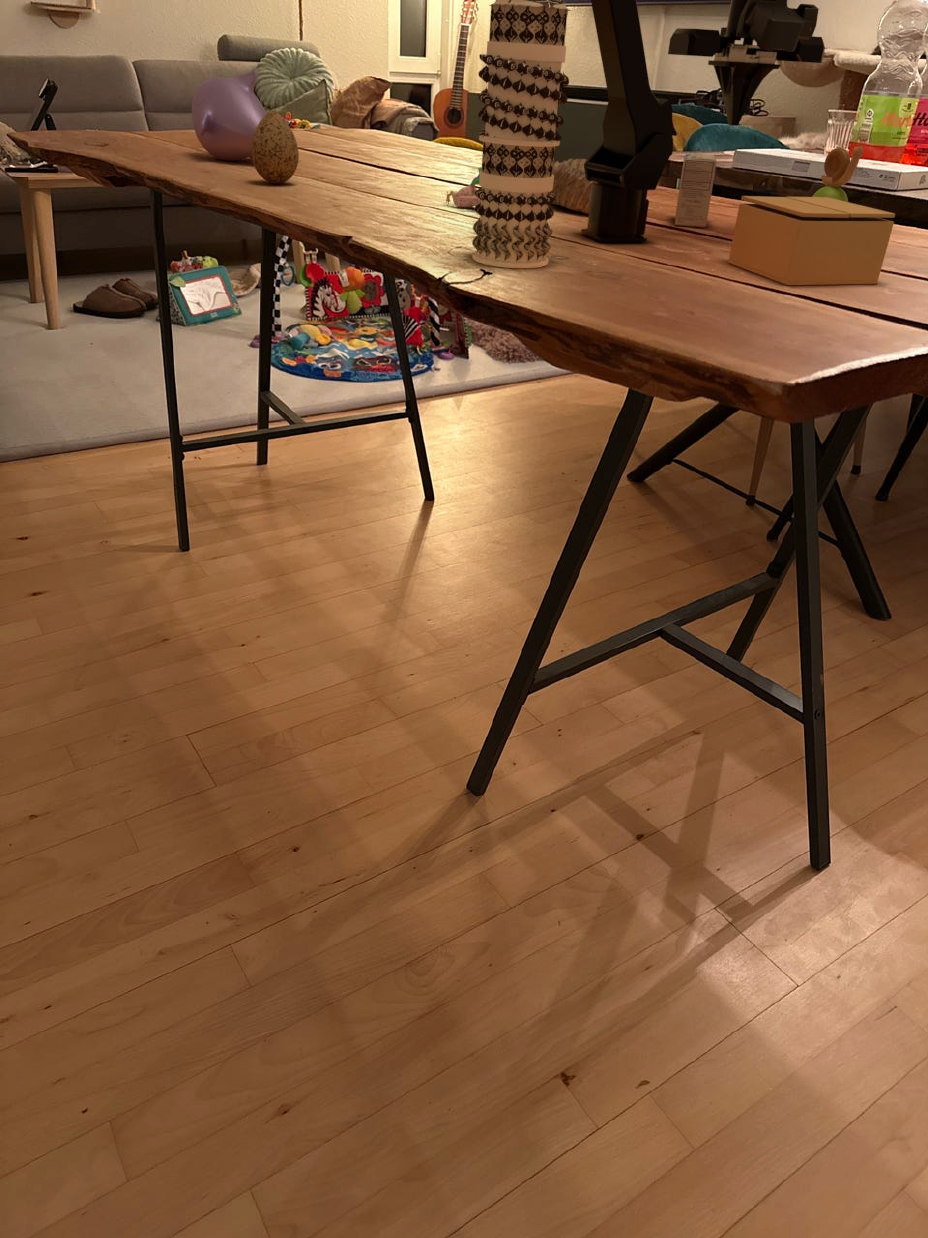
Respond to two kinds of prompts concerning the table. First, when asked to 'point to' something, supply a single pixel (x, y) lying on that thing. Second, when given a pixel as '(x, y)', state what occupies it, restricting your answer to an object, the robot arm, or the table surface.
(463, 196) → the pink radish
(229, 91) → the toy whale
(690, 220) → the medicine box
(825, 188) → the snail figurine
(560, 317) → the table surface
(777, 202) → the flap
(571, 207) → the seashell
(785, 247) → the carton
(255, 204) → the table surface
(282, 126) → the decorative egg
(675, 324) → the table surface
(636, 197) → the robot arm
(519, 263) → the bracelet display stand
